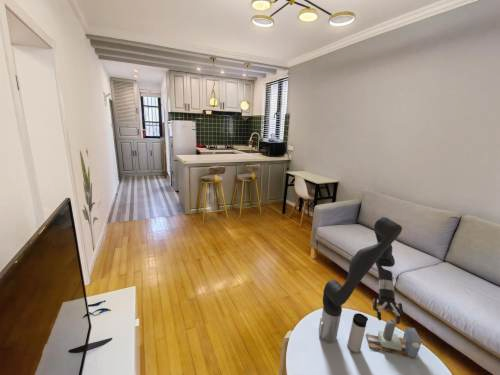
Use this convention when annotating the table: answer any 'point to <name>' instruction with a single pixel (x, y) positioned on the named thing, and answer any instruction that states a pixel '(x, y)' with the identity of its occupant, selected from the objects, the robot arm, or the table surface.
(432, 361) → the table surface
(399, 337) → the button
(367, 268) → the robot arm
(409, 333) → the end cabinet
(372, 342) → the track
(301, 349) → the table surface
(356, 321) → the travel mug
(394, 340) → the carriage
